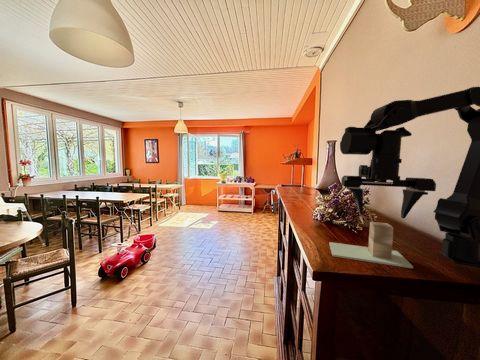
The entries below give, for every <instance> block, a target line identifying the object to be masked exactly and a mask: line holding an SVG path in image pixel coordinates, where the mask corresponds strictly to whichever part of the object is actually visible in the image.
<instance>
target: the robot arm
mask: <svg viewBox="0 0 480 360" xmlns="http://www.w3.org/2000/svg"><path fill="white" fill-rule="evenodd" d="M472 105H473V106H474V105H475V106H476V107H480V86H471V87H469V88H465V89H464V90H463V89H462V90H459V91H455V92H451V93H446V94H442V95H438V96H433V97H430V98H424V99H421V100H420V99H419V100H414V99H403V100H401V99H400V100H393V101H391V102H389V103H386V104H384V105H382V106H380V107H378V108H376V109H373V111H372V113H371V115H370V119H369V120H368V122H367V123H365V125H364V126H363V127H356V126H347V127H345V128H344V133H343V135H342V137H341V140H340V142H339V149H340V152H341V154H343V155H359V156H360V155H364V156H366V155H369V154H371V153H372V155H371V159H370V163H369V164H370V165H369V166H368V165H367V164H360V165H359V166H358V175H342V176H341V181H340V182H341V183H340V185H341V186H342V187H345V189H347V190H348V191H351V193H352V195H353V198H354V200H355V204H356V206H357V210H358V212H359V213H358V214H359V215H363V212H364V211H363V210H364V189H363V188H361V186H370V187H373V186H377V187H394V188H395V187H396V188H402V194H403V198H402V205H401V209H400V217H401V219H405V218H406V217H407V216H408V214H409V213H410V211H411V210H412V209H413V207H414V206H415V205H416V203H418V201H419V200H420V199H421V198H422V197H423V196H425V195H426V196H427V195H428V194H429V192H436V190H437V183H436V181H435V180H434V179H433V178H425V177H406V178H405V179H401V176H400V175H399V174H400V164H402V158H401V149H402V147H401V146H402V138H405V137H406V138H407V137H411V136H412V132H411V131H409V130H408V129H406V128H405V127H404V126H401V125H403V124H406V123H408V122H410V121H413V120H415V119H416V118H419V117H423V116H428V115H432V114H433V115H434V114H437V113H440V112H445V111H450V110H455V111H457V114H458V117H459V119H460V120H462V121H463V122H465V123H467V126H466V127H467V130H466V132H467V134H468V135H469V138H470V139H471V142H470V144H469V148H468V150H467V153H466V156H465V158H464V162H463V164H462V166H461V169H460V172H459V176H458V178H457V181H456V184H455V186H454V189H453V192H452V194H451V195H450V196H447V198H444V197H443V198H442V197H441V198H438V200H437V205H436V207H435V209H434V210H433V213H434V220H435V221H436V222H437V225H438V229H439V231H440V232H444V233H445V235H444V236H445V238H442V244H441V251H439V254H441V256H444V257H445V258H447V259H448V260H450V261H451V262H453V263H456V264H459V265H465V266H466V265H467V266H475V267H480V108H478V109H475V108H474V107H473V106H472ZM398 126H401V127H398ZM394 127H398V128H396V129H389V128H394ZM380 131H381V133H376V132H380ZM403 188H405V189H403Z"/></svg>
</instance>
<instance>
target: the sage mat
mask: <svg viewBox="0 0 480 360" xmlns="http://www.w3.org/2000/svg"><path fill="white" fill-rule="evenodd" d="M328 244H329V248H330V252H331V255H332V257H335V258H342V259H347V260H355V261H359V262H360V261H361V262H367V263H374V264H379V265H380V264H381V265H387V266H393V267H401V268H406V269H414V266H413V265H412V264H411V263H410V262H409V261H408V260H407V259H406V258H405V256H403V255H402V254H401V253H400V252H399V251H398V250H393V249H392V255H391V259H387V258H380V257H373V256H372V255H371V254H370V252H369V251H368V246H362V245H355V244H354V245H353V244H345V243H339V242H331V241H329V242H328Z"/></svg>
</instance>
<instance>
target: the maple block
mask: <svg viewBox="0 0 480 360" xmlns="http://www.w3.org/2000/svg"><path fill="white" fill-rule="evenodd" d="M368 232H369V233H368V246H367V247H368V251H369V252H370V254H371V255H372V256H373V257H380V258H387V259H391V255H392V250H393V240H394V227H393V226H392V225H391V224H389V223H387V222H377V221H376V222H375V221H369V231H368Z"/></svg>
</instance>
